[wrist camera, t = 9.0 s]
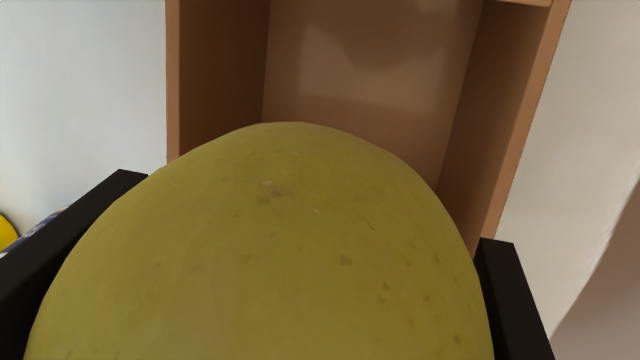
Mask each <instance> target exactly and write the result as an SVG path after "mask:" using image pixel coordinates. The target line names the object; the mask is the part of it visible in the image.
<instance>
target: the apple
mask: <svg viewBox="0 0 640 360" xmlns="http://www.w3.org/2000/svg"><path fill="white" fill-rule="evenodd" d="M23 360H495V359H494V350H493V344H492V339H491V333H490V327H489V322H488V317H487V312H486V307H485V303H484V299H483V294H482V290H481V286H480V281H479V277H478V274H477V271H476V269H475V266H474V264H473V261H472V259H471V256H470V254H469V251H468V249H467V247H466V245H465V243H464V241H463V239H462V237H461V235H460V233H459V231H458V229H457V227H456V225H455V224H454V222H453V220H452V219H451V217H450V215H449V214H448V212H447V210H446V209H445V207H444V206H443V204H442V203H441V201H440V200H439V198H438V197H437V196H436V194H435V193H434V192H433V191H432V190H431V188H430V187H429V186H428V185H427V184H426V182H425V181H424V180H423V179H422V177H421V176H420V175H419V174H418V173H416V172H415V171H414V170H413V169H412V168H411V167H410V166H408V165H407V164H406V163H405V162H404V161H403V160H401V159H400V158H398V157H397V156H395V155H394V154H392V153H390V152H388V151H386V150H384V149H382V148H380V147H378V146H376V145H374V144H372V143H370V142H368V141H365V140H363V139H361V138H359V137H356V136H354V135H351V134H349V133H346V132H343V131H340V130H337V129H334V128H330V127H326V126H322V125H317V124H312V123H305V122H272V123H259V124H255V125H251V126H248V127H244V128H241V129H238V130H235V131H232V132H230V133H228V134H225V135H223V136H221V137H219V138H217V139H214V140H212V141H210V142H208V143H206V144H203V145H201V146H199V147H197V148H195V149H193V150H191V151H189V152H188V153H186V154H184V155H182V156H181V157H179V158H177V159H176V160H174V161H172V162H170V163H169V164H167V165H165V166H163V167H162V168H160V169H158V170H157V171H155V172H154V173H153V174H151V175H150V176H148V177H147V178H146V179H144V180H143V181H142V182H140V183H139V184H137V185H136V186H135V187H133V188H132V189H131V190H129V191H128V192H127V193H125V194H124V195H123V196H121V197H120V198H119V199H117V200H116V201H114V202H113V203H112V204H111V205H110V206H109V207H108V208H107V209H106V210H105V211H104V212H103V213H102V214H101V215H100V216H99V217H98V218H97V220H96V221H95V222H94V223H93V224H92V226H91V227H90V228H89V229H88V230H87V232H86V233H85V234H84V235H83V236H82V238H81V239H80V240H79V241H78V243H77V244H76V245H75V247H74V248H73V249H72V251H71V252H70V253H69V255H68V256H67V258H66V259H65V261H64V263H63V265H62V266H61V268H60V270H59V272H58V273H57V275H56V277H55V279H54V281H53V282H52V284H51V286H50V288H49V289H48V291H47V293H46V295H45V296H44V298H43V300H42V303H41V305H40V308H39V310H38V313H37V316H36V318H35V321H34V323H33V326H32V329H31V331H30V334H29V338H28V342H27V346H26V349H25V353H24V357H23Z"/></svg>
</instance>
